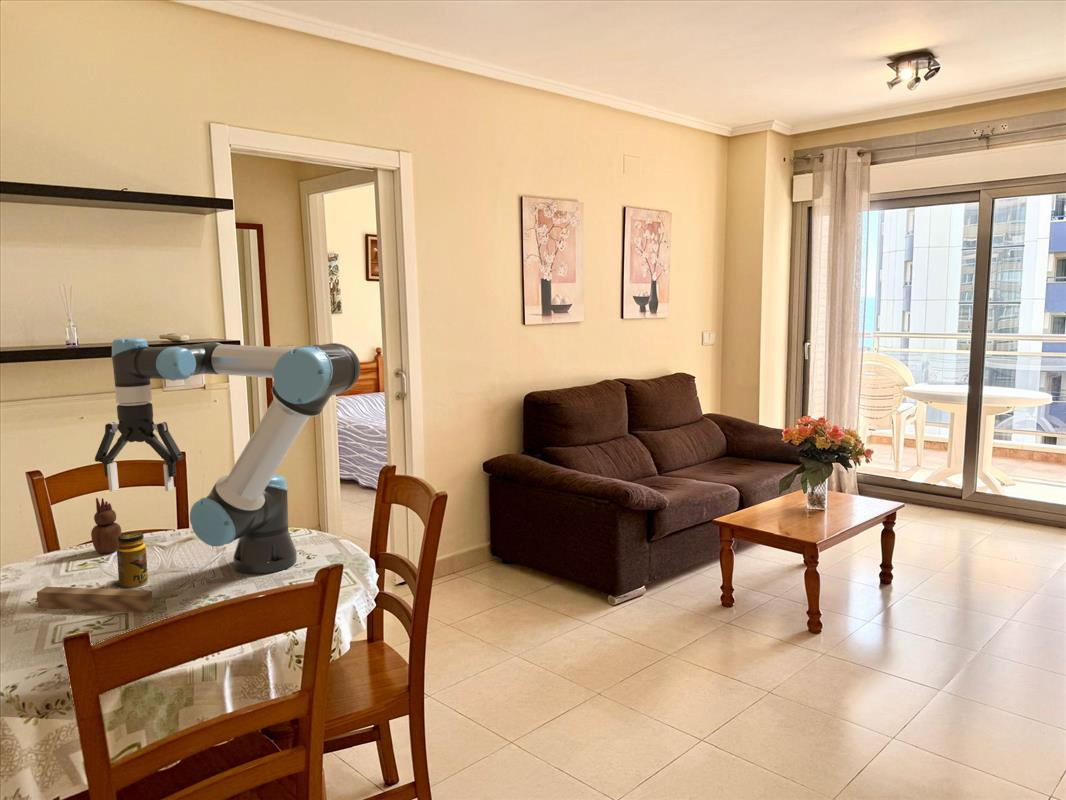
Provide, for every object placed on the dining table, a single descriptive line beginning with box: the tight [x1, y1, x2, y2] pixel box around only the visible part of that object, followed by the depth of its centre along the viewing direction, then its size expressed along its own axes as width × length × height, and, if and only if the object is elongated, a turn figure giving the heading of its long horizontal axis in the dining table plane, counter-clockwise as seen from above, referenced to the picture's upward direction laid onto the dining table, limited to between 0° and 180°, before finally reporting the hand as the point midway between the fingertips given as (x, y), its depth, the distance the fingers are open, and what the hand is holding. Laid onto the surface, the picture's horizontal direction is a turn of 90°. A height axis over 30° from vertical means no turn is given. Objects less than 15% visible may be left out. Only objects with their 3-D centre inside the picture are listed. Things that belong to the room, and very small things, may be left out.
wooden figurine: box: [90, 497, 122, 554], centre depth 196 cm, size 7×6×15 cm
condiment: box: [107, 531, 152, 590], centre depth 175 cm, size 7×8×12 cm
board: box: [36, 586, 154, 613], centre depth 163 cm, size 24×3×4 cm, turn 87°
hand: (141, 489), depth 181 cm, fingers open, 13 cm apart
